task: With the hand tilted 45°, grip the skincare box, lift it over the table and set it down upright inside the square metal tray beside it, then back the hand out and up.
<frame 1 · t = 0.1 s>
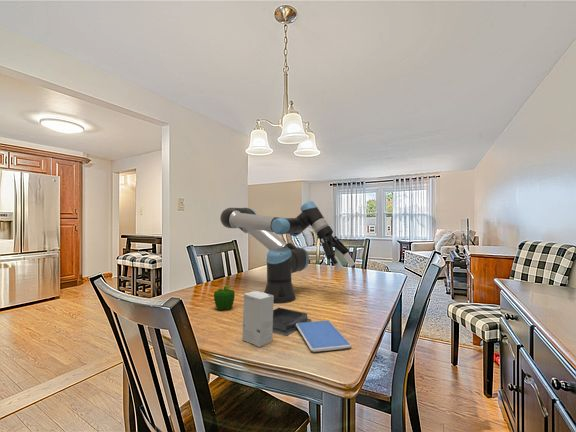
hand: (347, 267, 134), 15 cm above the table, tool tilted 35°, fingers open, 13 cm apart
bell pepper: (224, 309, 125), on the table
tablet computer: (321, 337, 94), on the table, touching square metal tray
square metal tray: (282, 323, 107), on the table
skincare box: (258, 341, 92), on the table
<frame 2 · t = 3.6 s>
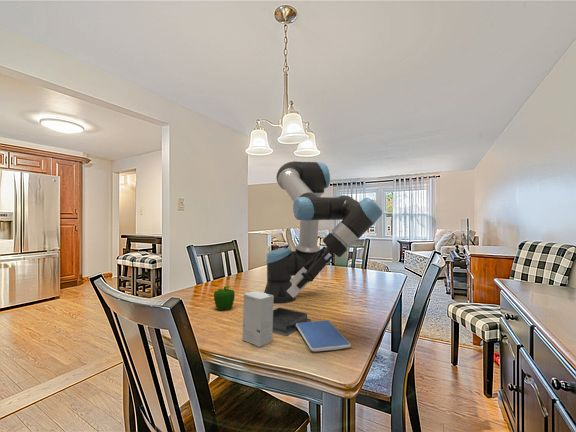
hand: (291, 288, 91), 17 cm above the table, tool tilted 45°, fingers open, 13 cm apart
nothing on the table moved.
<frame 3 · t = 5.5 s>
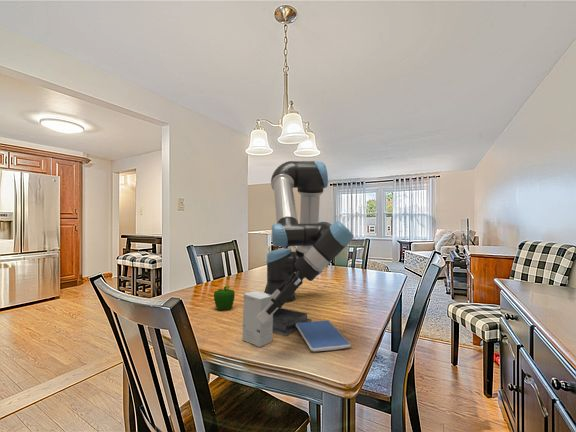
hand: (263, 312, 91), 9 cm above the table, tool tilted 45°, fingers open, 13 cm apart
nothing on the table moved.
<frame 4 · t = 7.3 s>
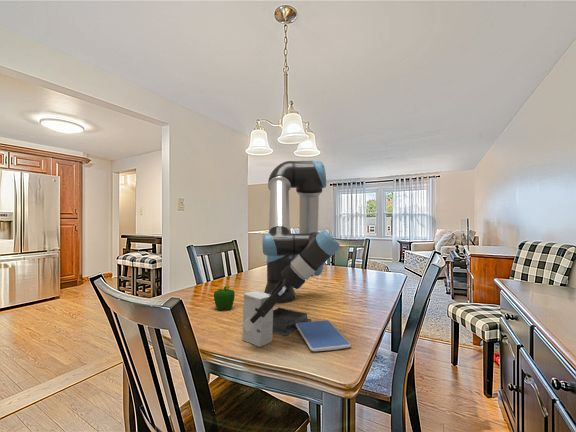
hand: (247, 322, 93), 6 cm above the table, tool tilted 45°, fingers closed on skincare box, 9 cm apart
skincare box: (258, 341, 92), on the table, touching gripper
everything else where it was.
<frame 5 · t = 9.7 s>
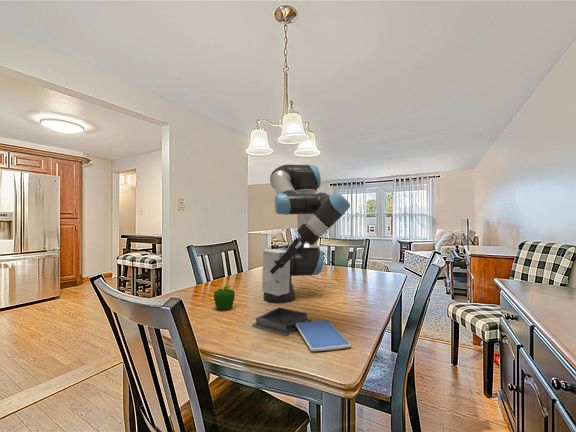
hand: (267, 275, 103), 18 cm above the table, tool tilted 45°, fingers closed on skincare box, 9 cm apart
skincare box: (276, 293, 103), point 12 cm above the table, touching gripper
everything else where it was.
when the fingers open (8 cm above the table, at t = 12.5 s): skincare box drops 2 cm, resting on square metal tray.
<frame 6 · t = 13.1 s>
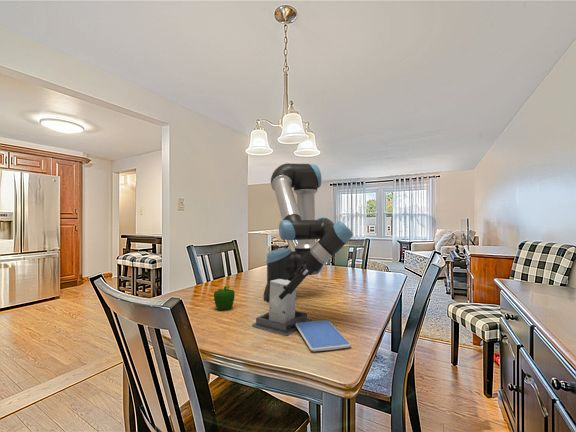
hand: (275, 298, 107), 9 cm above the table, tool tilted 45°, fingers open, 13 cm apart
skincare box: (282, 322, 107), point 1 cm above the table, touching square metal tray
everything else where it was.
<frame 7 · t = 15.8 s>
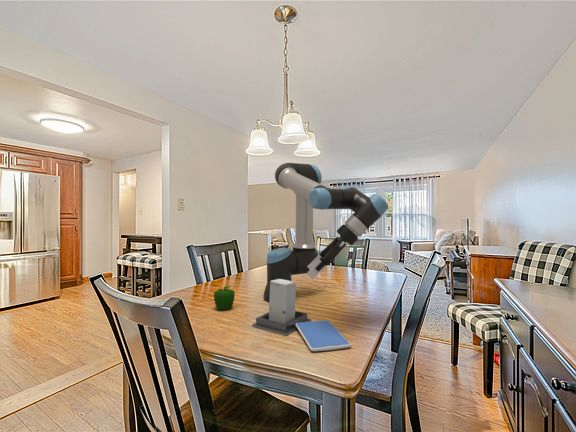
hand: (309, 272, 106), 19 cm above the table, tool tilted 45°, fingers open, 13 cm apart
nothing on the table moved.
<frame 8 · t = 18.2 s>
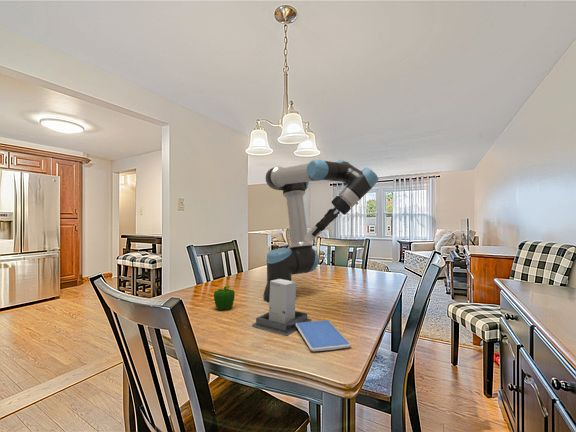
hand: (306, 240, 116), 30 cm above the table, tool tilted 45°, fingers open, 13 cm apart
nothing on the table moved.
at the end: skincare box inside the target area on the square metal tray (0.1 cm from its centre), point 0.6 cm above the square metal tray's base; skincare box tilted 0°; the gripper is holding nothing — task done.
